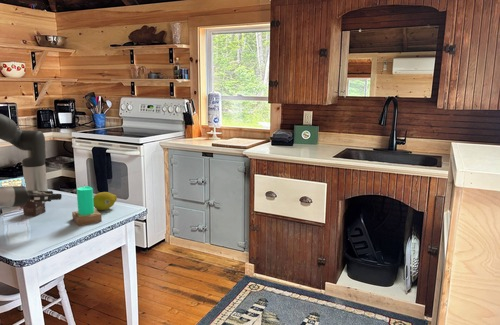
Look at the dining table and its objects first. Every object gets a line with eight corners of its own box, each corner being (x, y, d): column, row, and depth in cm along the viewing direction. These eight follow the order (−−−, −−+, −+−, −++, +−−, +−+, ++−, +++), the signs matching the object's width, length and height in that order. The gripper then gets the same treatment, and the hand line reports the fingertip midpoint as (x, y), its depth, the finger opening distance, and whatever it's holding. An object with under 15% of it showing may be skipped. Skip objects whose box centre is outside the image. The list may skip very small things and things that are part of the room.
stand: (72, 218, 158) (72, 211, 157) (95, 214, 163) (94, 207, 163) (78, 225, 151) (77, 218, 150) (101, 221, 156) (101, 213, 156)
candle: (82, 216, 152) (80, 187, 150) (75, 212, 156) (73, 184, 153) (96, 212, 157) (95, 184, 154) (89, 209, 160) (87, 181, 158)
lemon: (92, 213, 164) (91, 196, 163) (90, 208, 171) (89, 191, 169) (118, 210, 169) (117, 193, 167) (116, 205, 176) (115, 188, 174)
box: (35, 216, 159) (34, 200, 158) (23, 215, 160) (21, 198, 159) (46, 211, 165) (44, 195, 164) (33, 210, 166) (32, 194, 165)
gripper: (17, 188, 133) (64, 187, 146) (4, 184, 143) (50, 183, 155) (16, 210, 134) (63, 207, 146) (3, 203, 143) (49, 201, 155)
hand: (56, 195), depth 150 cm, fingers open, 8 cm apart
